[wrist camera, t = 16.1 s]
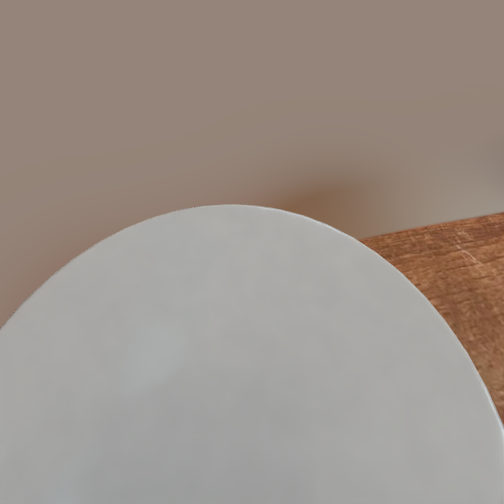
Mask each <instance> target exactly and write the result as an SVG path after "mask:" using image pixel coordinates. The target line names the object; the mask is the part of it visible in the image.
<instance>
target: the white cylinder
mask: <svg viewBox="0 0 504 504" xmlns="http://www.w3.org/2000/svg"><path fill="white" fill-rule="evenodd" d="M0 504H504V426H503V424H502V421H501V419H500V417H499V415H498V412H497V410H496V408H495V405H494V403H493V401H492V399H491V396H490V394H489V392H488V389H487V387H486V386H485V384H484V382H483V380H482V378H481V377H480V375H479V373H478V371H477V369H476V368H475V366H474V364H473V362H472V360H471V359H470V357H469V355H468V353H467V352H466V350H465V349H464V347H463V346H462V344H461V343H460V341H459V340H458V338H457V337H456V335H455V334H454V333H453V331H452V330H451V328H450V327H449V325H448V324H447V322H446V321H445V320H444V319H443V317H442V316H441V315H440V314H439V313H438V311H437V310H436V309H435V308H434V307H433V305H432V304H431V303H430V302H429V301H428V299H427V298H426V297H425V296H424V295H423V294H422V293H421V292H420V291H419V290H418V289H417V288H416V287H415V286H414V285H413V284H412V283H411V282H410V281H409V280H408V279H407V278H406V277H405V276H404V275H403V274H402V273H401V272H400V271H399V270H397V269H396V268H395V267H394V266H392V265H391V264H390V263H389V262H387V261H386V260H385V259H384V258H382V257H381V256H380V255H379V254H377V253H376V252H374V251H373V250H371V249H370V248H368V247H367V246H365V245H364V244H362V243H361V242H359V241H357V240H356V239H354V238H353V237H351V236H349V235H347V234H345V233H343V232H341V231H339V230H337V229H335V228H333V227H331V226H329V225H327V224H324V223H322V222H319V221H316V220H314V219H311V218H309V217H306V216H303V215H299V214H295V213H292V212H287V211H284V210H280V209H274V208H268V207H261V206H255V205H233V204H226V205H211V206H200V207H194V208H188V209H183V210H178V211H174V212H170V213H167V214H163V215H159V216H156V217H153V218H150V219H147V220H145V221H142V222H140V223H137V224H135V225H132V226H130V227H127V228H125V229H123V230H121V231H119V232H117V233H115V234H113V235H111V236H109V237H108V238H105V239H103V240H102V241H100V242H98V243H97V244H95V245H93V246H92V247H90V248H89V249H87V250H86V251H84V252H83V253H81V254H79V255H78V256H76V257H75V258H73V259H72V260H71V261H70V262H68V263H67V264H66V265H65V266H63V267H62V268H61V269H60V270H58V271H57V272H56V273H55V274H53V275H52V276H51V277H49V278H48V279H47V280H46V281H45V282H44V283H43V284H42V285H41V286H40V287H39V288H38V289H37V290H35V292H33V293H32V294H31V295H30V296H29V297H28V298H27V299H26V300H25V301H24V302H23V303H22V304H21V305H20V306H19V308H18V309H17V310H16V311H15V312H14V313H13V314H12V315H11V316H10V318H9V319H8V320H7V321H6V322H5V323H4V324H3V326H2V327H1V328H0Z"/></svg>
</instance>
